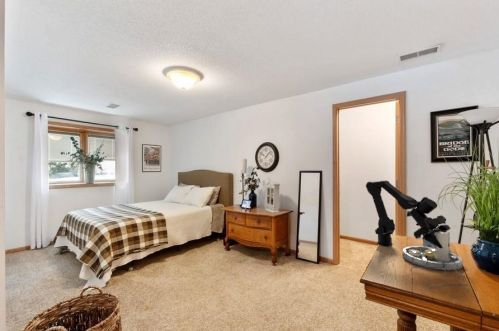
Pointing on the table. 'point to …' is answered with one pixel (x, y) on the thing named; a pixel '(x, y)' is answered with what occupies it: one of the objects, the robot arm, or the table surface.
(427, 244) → the light bulb box
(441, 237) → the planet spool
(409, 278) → the table surface
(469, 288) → the eyeglasses
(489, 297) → the table surface
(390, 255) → the table surface
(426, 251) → the carrier plate
